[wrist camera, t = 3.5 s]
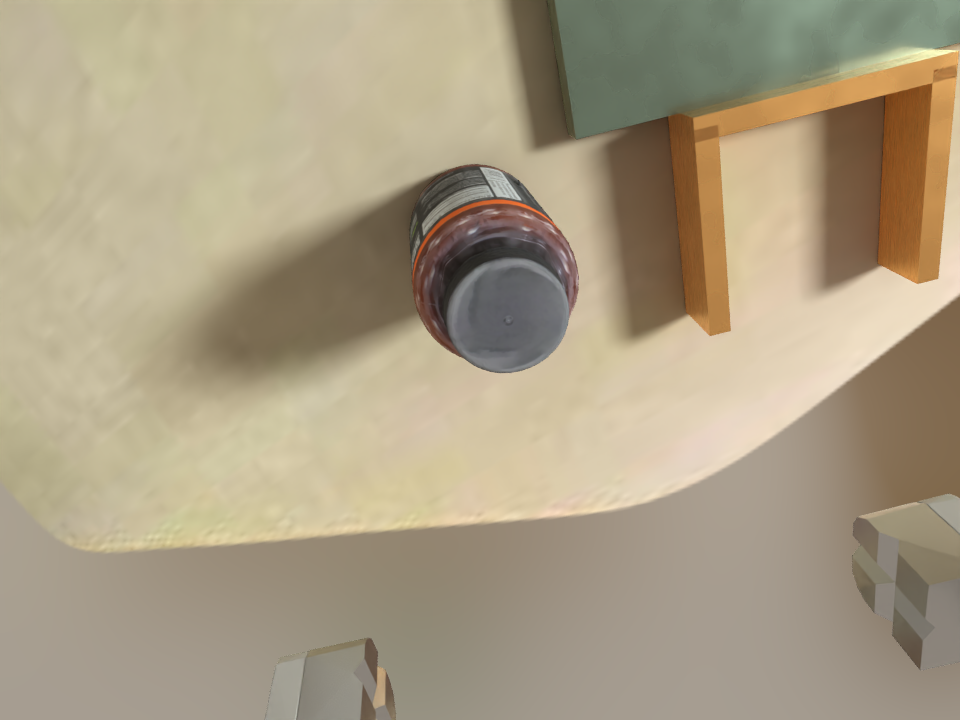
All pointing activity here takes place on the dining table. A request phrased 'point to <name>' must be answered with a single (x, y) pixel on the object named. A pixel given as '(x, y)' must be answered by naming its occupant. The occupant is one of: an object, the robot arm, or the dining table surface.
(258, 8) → the dining table surface
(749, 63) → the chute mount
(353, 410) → the dining table surface
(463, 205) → the supplement bottle
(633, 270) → the dining table surface
